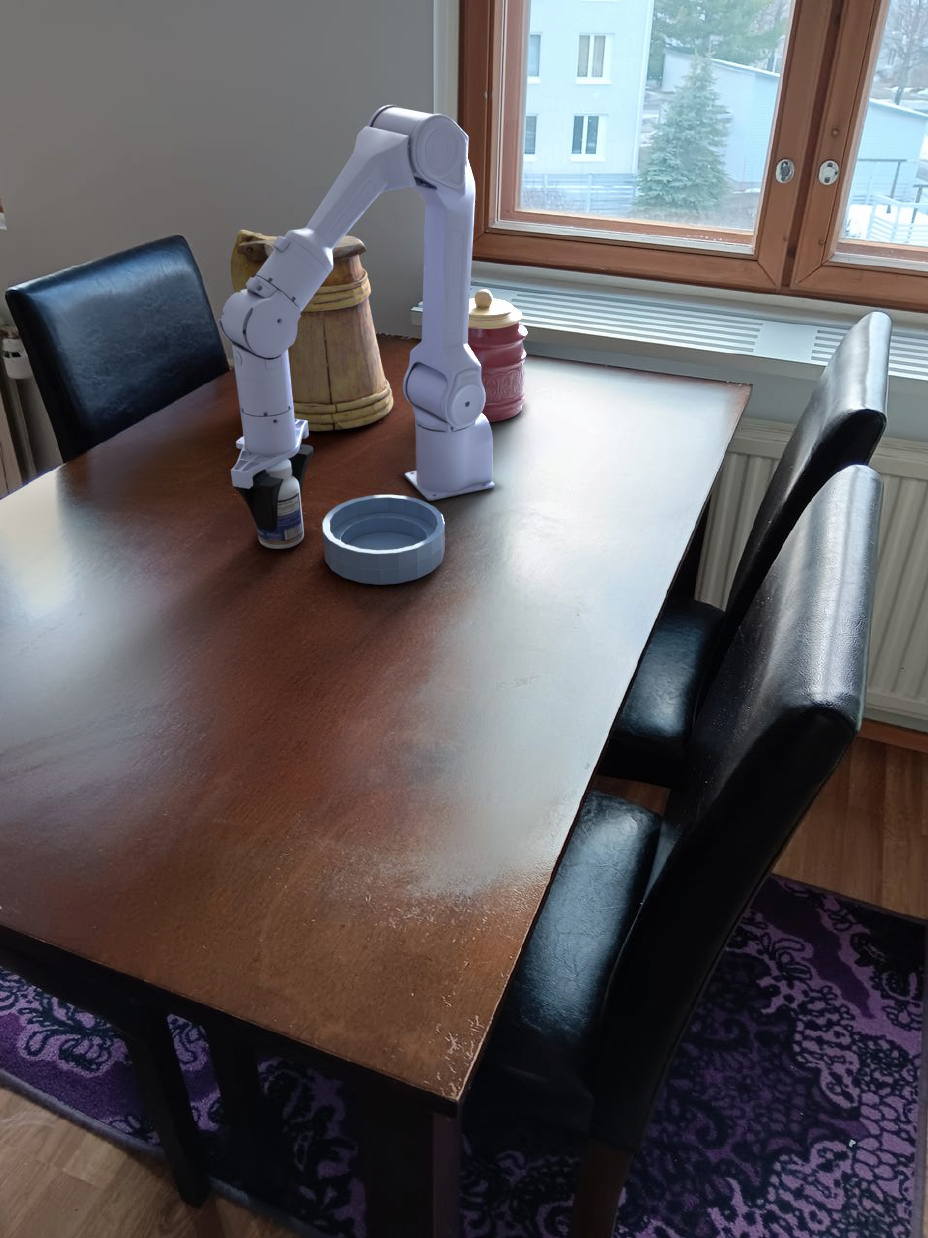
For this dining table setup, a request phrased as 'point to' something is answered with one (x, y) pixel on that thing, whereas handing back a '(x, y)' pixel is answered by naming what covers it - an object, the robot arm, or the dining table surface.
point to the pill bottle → (285, 511)
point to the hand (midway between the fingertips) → (279, 517)
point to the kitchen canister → (498, 353)
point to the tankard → (328, 339)
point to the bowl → (383, 539)
